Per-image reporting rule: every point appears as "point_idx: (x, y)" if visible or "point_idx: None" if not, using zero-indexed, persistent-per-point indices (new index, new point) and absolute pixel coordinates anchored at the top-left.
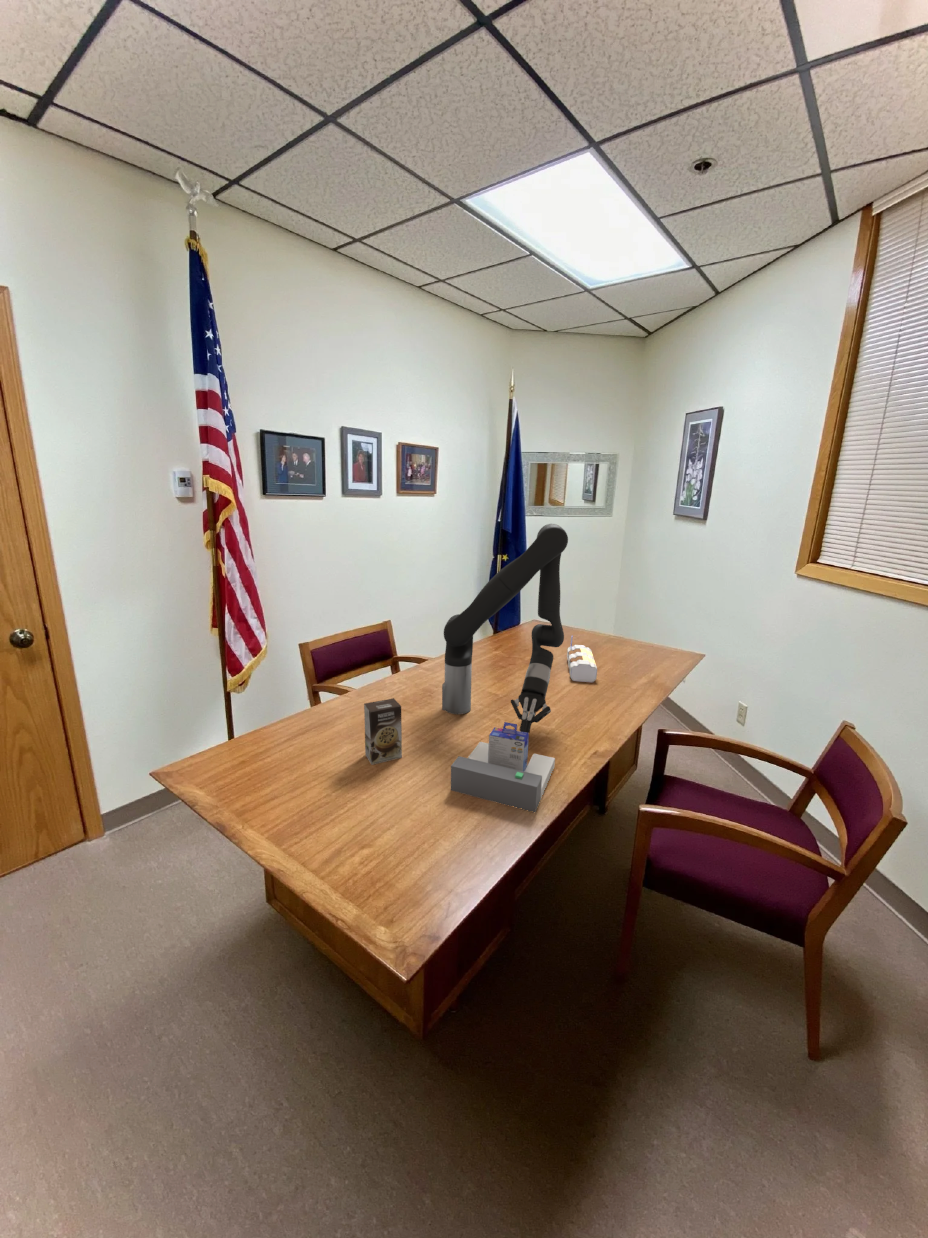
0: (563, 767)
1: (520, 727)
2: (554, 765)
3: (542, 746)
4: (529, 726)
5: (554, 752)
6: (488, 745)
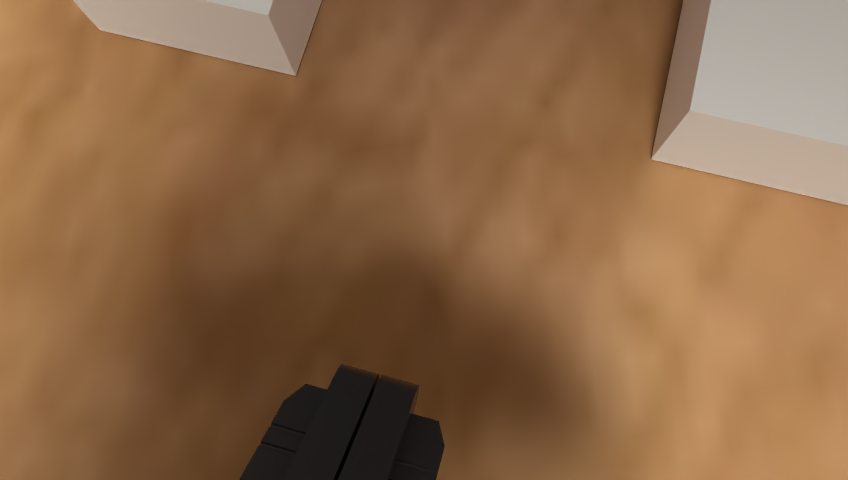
0: (11, 52)
1: (431, 457)
2: (86, 14)
3: (162, 433)
4: (262, 450)
5: (44, 316)
6: (834, 95)
